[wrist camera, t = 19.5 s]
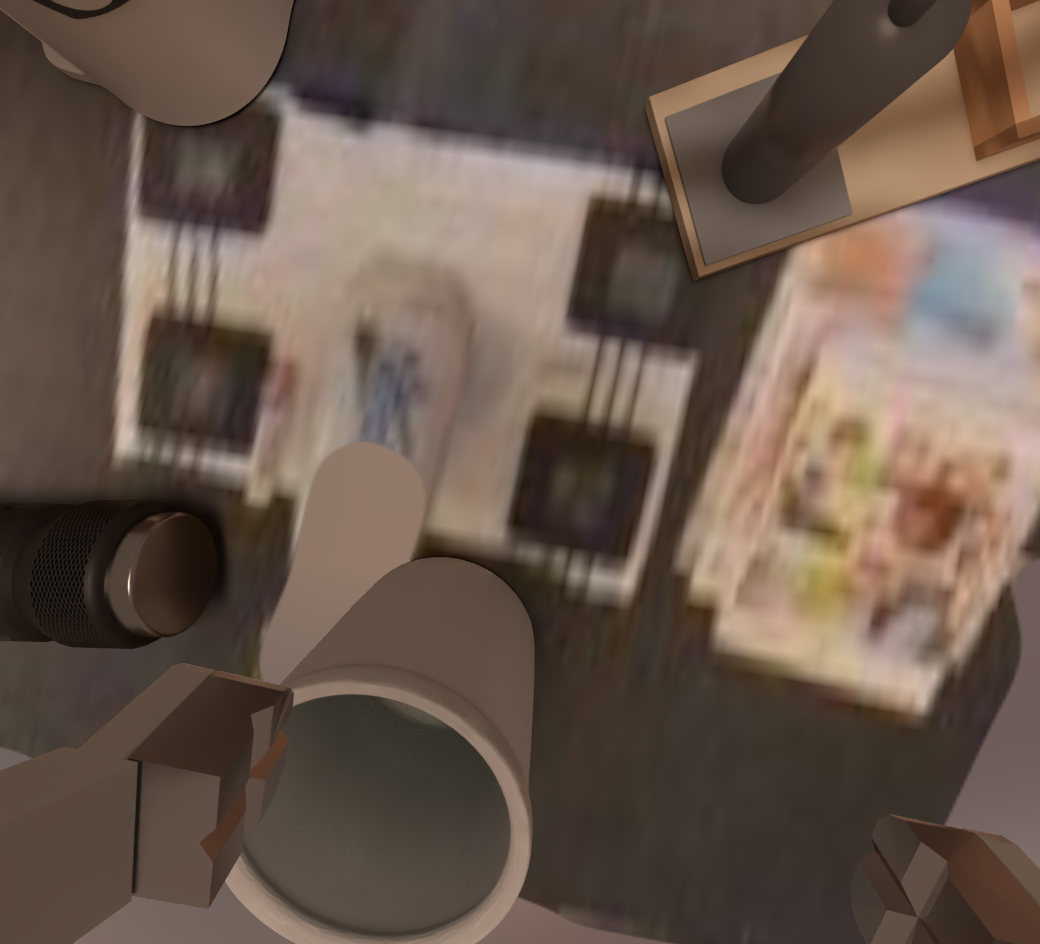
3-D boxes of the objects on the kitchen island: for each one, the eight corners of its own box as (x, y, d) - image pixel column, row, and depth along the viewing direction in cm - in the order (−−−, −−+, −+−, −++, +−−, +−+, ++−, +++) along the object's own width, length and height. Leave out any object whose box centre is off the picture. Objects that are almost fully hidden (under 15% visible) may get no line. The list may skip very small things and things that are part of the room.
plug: (713, 142, 33) (876, -109, 16) (785, 113, 32) (1032, -175, 16) (733, 215, 33) (910, 46, 17) (805, 188, 33) (1063, -14, 16)
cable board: (645, 109, 34) (658, 68, 30) (1082, -62, 31) (1169, -134, 27) (693, 281, 36) (712, 266, 31) (1116, 133, 33) (1202, 94, 28)
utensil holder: (517, 754, 42) (488, 1012, 25) (332, 705, 43) (179, 925, 25) (564, 579, 40) (569, 732, 22) (367, 528, 40) (224, 641, 23)
